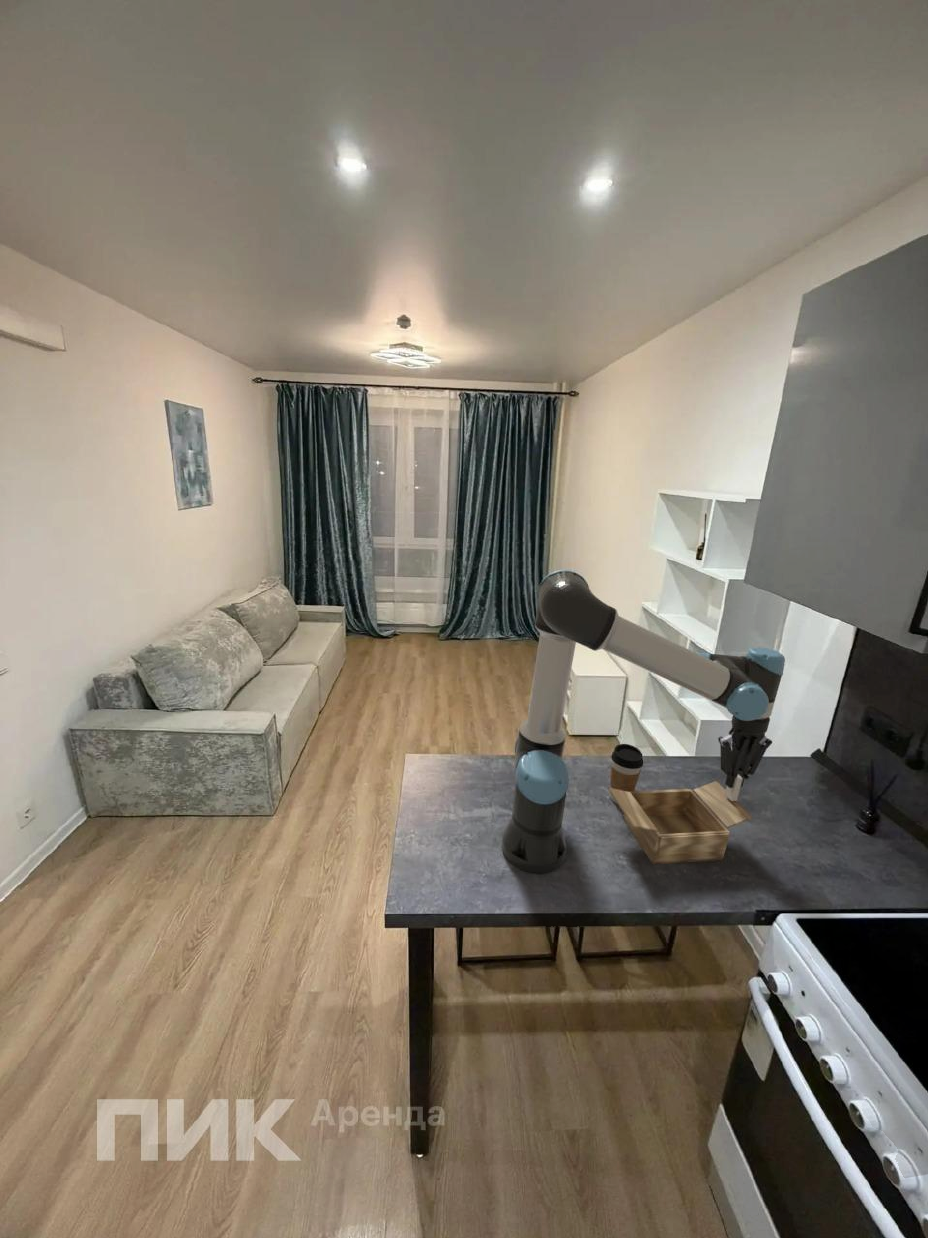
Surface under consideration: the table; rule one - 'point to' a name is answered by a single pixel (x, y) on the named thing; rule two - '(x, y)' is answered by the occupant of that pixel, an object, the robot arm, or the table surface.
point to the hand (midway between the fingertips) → (730, 797)
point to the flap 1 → (632, 809)
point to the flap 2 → (722, 804)
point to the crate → (679, 828)
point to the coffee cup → (625, 768)
